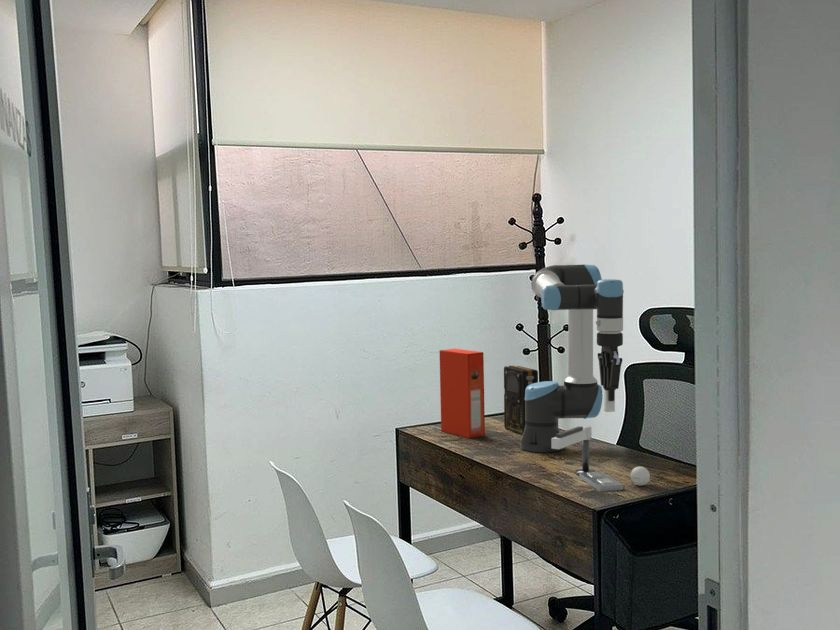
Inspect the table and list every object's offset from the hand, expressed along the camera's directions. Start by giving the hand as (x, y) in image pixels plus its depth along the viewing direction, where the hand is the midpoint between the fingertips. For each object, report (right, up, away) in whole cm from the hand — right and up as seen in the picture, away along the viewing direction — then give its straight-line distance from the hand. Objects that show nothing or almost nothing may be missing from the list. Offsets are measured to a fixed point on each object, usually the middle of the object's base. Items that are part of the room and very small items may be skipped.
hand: (609, 411), depth 256 cm
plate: (-2, -22, +2) cm, 22 cm away
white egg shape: (+9, -22, -1) cm, 24 cm away
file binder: (-40, -18, +78) cm, 89 cm away
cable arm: (-10, -10, +6) cm, 16 cm away
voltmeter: (-17, -17, +80) cm, 84 cm away
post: (-4, -21, +14) cm, 26 cm away
